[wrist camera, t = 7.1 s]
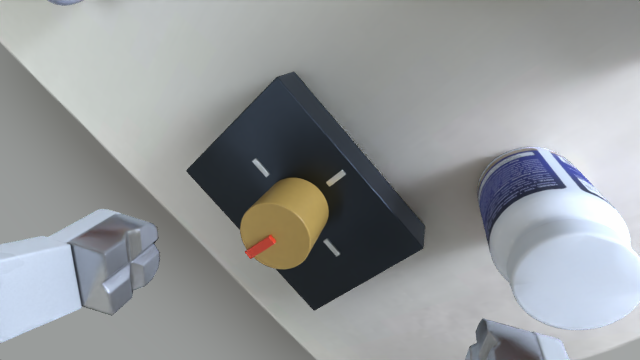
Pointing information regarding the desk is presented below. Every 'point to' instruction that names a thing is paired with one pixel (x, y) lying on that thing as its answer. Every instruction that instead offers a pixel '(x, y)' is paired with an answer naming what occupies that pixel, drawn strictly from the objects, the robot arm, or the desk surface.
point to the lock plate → (322, 171)
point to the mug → (64, 2)
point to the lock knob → (284, 223)
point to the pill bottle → (557, 241)
